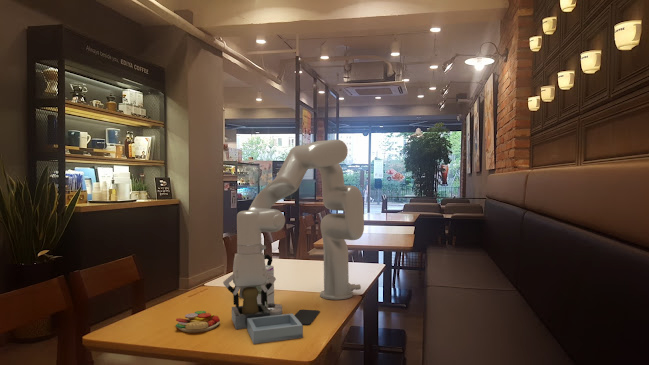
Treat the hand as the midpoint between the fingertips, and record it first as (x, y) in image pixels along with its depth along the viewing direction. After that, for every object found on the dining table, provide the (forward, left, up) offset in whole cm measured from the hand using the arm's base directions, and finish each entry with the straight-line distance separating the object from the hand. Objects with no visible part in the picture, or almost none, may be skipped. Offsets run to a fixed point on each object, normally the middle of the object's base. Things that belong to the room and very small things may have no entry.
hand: (250, 305), depth 139 cm
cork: (0, 0, -6) cm, 6 cm away
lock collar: (-3, -2, -5) cm, 7 cm away
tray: (-5, +13, -5) cm, 15 cm away
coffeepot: (-6, -32, -6) cm, 33 cm away
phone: (-17, +1, -6) cm, 18 cm away
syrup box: (-7, -15, -6) cm, 18 cm away
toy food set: (+16, -2, -6) cm, 17 cm away
